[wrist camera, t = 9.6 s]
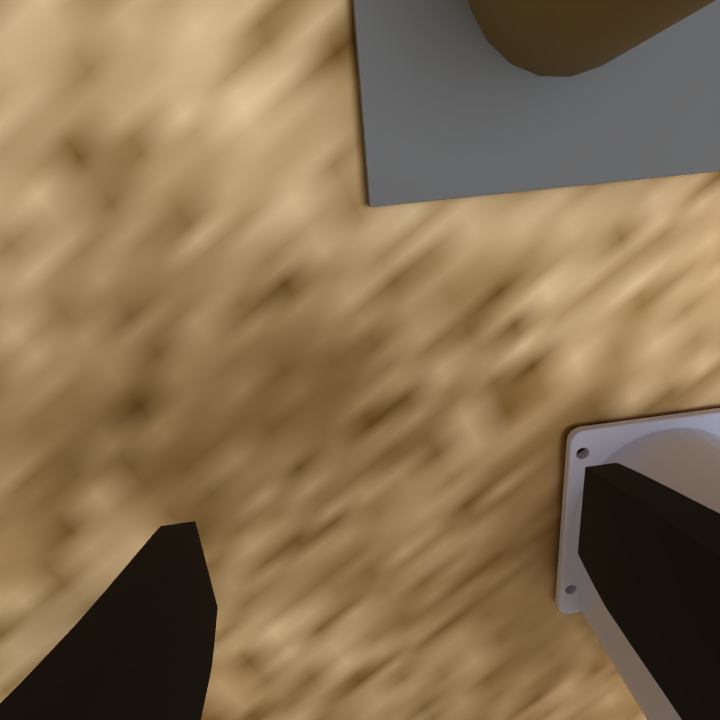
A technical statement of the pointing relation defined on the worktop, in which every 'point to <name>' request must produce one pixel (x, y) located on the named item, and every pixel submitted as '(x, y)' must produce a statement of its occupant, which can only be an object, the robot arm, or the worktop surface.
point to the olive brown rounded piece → (574, 30)
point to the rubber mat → (525, 107)
